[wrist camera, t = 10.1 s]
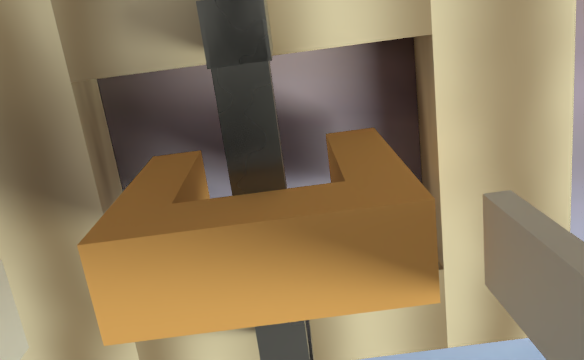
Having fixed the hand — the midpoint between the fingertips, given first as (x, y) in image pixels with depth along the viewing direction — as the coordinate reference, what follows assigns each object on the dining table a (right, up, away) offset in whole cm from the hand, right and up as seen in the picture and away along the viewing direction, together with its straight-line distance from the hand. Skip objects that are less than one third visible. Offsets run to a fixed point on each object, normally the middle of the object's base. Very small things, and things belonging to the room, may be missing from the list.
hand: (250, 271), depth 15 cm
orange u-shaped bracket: (0, +3, +8) cm, 8 cm away
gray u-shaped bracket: (0, +3, +10) cm, 11 cm away
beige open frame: (0, +3, +10) cm, 11 cm away
